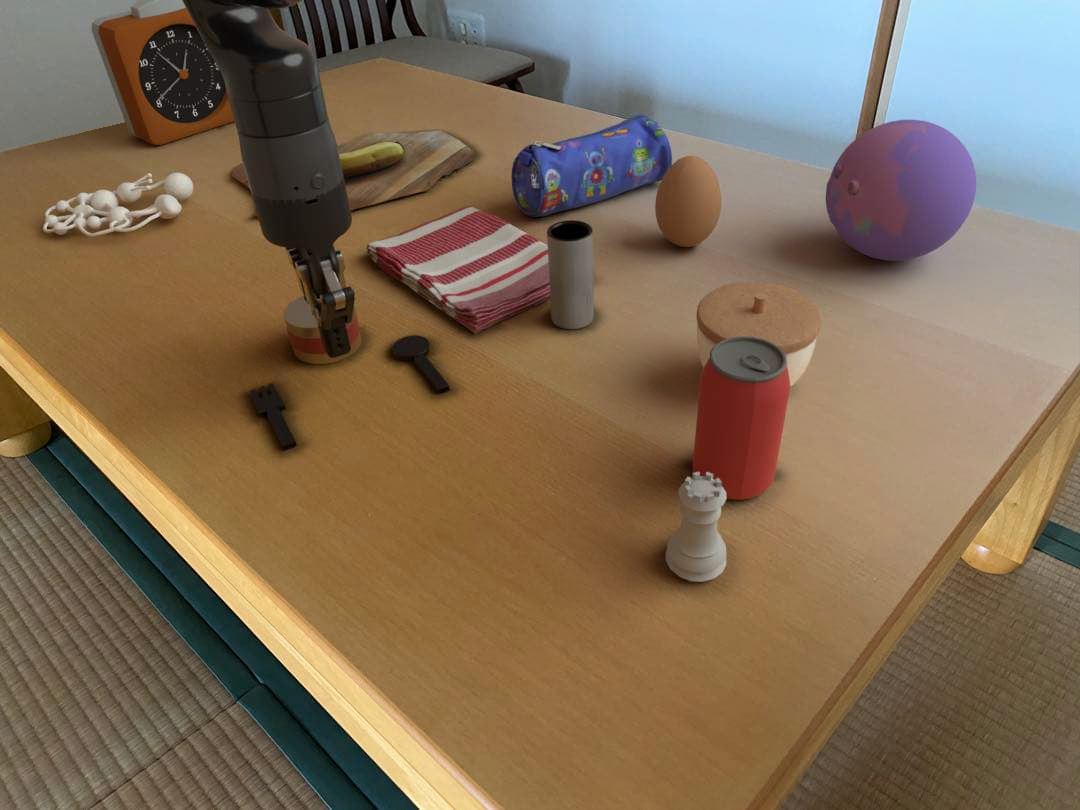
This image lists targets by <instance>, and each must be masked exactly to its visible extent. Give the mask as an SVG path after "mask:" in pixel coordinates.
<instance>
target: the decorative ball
mask: <svg viewBox="0 0 1080 810" xmlns="http://www.w3.org/2000/svg"><path fill="white" fill-rule="evenodd" d="M976 193H977V173H976V169H975V165H974V162H973V159H972V157H971V154H970V152H969V150H968V149H967V148H966V146H965V145H964V144H963V142H962V141H961V140H960V139H959V138H958V137H957V136H956V135H955V134H953V132H951V131H950V130H948V129H946V128H944V127H943V126H940V125H939V124H936V123H933V122H930V121H926V120H921V119H898V120H893V121H888V122H885V123H881V124H878V125H877V126H874V127H872V128H870V129H868V130H867V131H865V132H863V133H861V134H860V135H859V136H858V137H856V138H855V139H854V140H853V141H852V142H851V143H850V144H849V145H848V146H847V147H845V149H844V151H843V152H842V153H841V155H840V156H839V157H838V159H837V161H836V162H835V164H834V166H833V168H832V170H831V174H830V176H829V179H828V181H827V184H826V188H825V206H826V212H827V214H828V218H829V222H830V223H831V224H832V226H833V227H834V229H835V231H836V232H837V234H838V235H839V237H841V238H842V240H843V241H844V242H845V243H846V244H847V245H848V246H850V247H851V248H852V249H854V250H855V251H857V252H859V253H860V254H862V255H865V256H867V257H870V258H873V259H876V260H882V261H892V262H896V261H907V260H913V259H916V258H921V257H923V256H925V255H928V254H929V253H932V252H934V251H935V250H937V249H939V248H940V247H942V246H943V245H944V244H946V243H947V242H948V241H949V240H951V239H952V238H953V237H954V236H955V235H956V234H957V232H959V231H960V229H961V228H962V226H963V225H964V223H965V222H966V220H967V218H968V217H969V215H970V213H971V210H972V208H973V205H974V202H975V198H976Z"/></svg>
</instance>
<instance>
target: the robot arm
mask: <svg viewBox="0 0 1080 810" xmlns="http://www.w3.org/2000/svg"><path fill="white" fill-rule="evenodd" d="M182 1H183V3H184V5H185V7H186V9H187V11H188V13H189V15H190V16H191V18H192V20H193V22H194V24H195V26H196V28H197V30H198V32H199V34H200V36H201V38H202V40H203V42H204V43H205V45H206V47H207V49H208V51H209V52H210V54H211V56H212V57H213V59H214V61H215V62H216V64H217V66H218V68H219V69H220V71H221V73H222V76H223V78H224V82H225V87H226V91H227V94H228V99H229V103H230V106H231V110H232V113H233V117H234V121H233V122H234V125H235V127H236V130H237V135H238V141H239V150H240V155H241V157H240V158H241V161H242V163H243V165H244V169H245V173H246V176H247V180H248V183H249V187H250V188H249V190H250V194H251V197H252V201H253V204H254V208H255V212H257V215H258V216H257V219H258V222H259V226H260V230H261V234H262V236H263V237H264V239H265V240H266V241H267V242H268V243H270V244H272V245H274V246H277V247H281V248H284V249H285V252H286V254H287V258H288V261H289V264H290V265H291V267H292V268H293V269H294V272H295V276H296V281H297V283H298V287H299V290H300V292H301V293H302V296H304V299H305V301H307V303H308V304H310V306H311V314H312V315H313V316H314V318H315V319H316V321H317V324H318V328H319V332H320V336H321V340H322V344H323V347H324V350H325V351H326V353H327V354H328V356H329V357H330V358H335V357H338V356H341V355H344V354H347V353H349V352H350V350H351V347H350V343H349V338H348V334H347V329H346V325H345V323H346V324H347V323H350V322H352V316H353V309H354V307H355V301H356V298H355V296H356V293H355V291H354V289H353V288H352V287H351V286H347V283H346V280H345V273H344V272H345V270H346V265H345V260H344V256H343V253H342V251H341V250H340V249H337V250H336V249H335V245H334V244H335V242H336V241H337V240H338V239H339V238H340V237H341V236H343V235H345V234H346V233H347V232H348V231H349V229H350V228H351V226H352V222H353V216H352V210H351V211H350V206H349V201H348V196H347V191H346V186H345V181H344V176H343V172H342V167H341V162H340V157H339V152H338V147H337V146H338V144H337V143H338V142H337V140H336V137H335V133H334V131H333V129H332V125H331V122H330V118H329V114H328V110H327V106H326V100H325V95H324V90H323V86H322V81H321V75H320V70H319V66H318V63H317V59H316V57H315V54H314V52H313V50H312V49H311V47H310V46H309V45H308V44H307V43H306V42H304V41H302V40H300V39H299V38H297V37H295V36H294V35H291V34H289V33H287V32H286V31H285V30H283V29H282V28H281V27H279V25H278V24H277V22H276V21H275V19H274V17H273V15H272V14H271V12H270V10H281V9H286V8H290V7H292V6H295V5H297V4H299V3H300V2H302V1H303V0H182Z"/></svg>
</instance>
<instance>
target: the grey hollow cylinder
mask: <svg viewBox="0 0 1080 810" xmlns="http://www.w3.org/2000/svg"><path fill="white" fill-rule="evenodd" d="M546 239H547V245H548V263H549V283H550V298H549V300H550V317H551V321H552V323H553V324H554V325H555V326H557V327H558V328H561V329H565V330H577V329H578V330H579V329H582V328H585V327H587V326H589V325H590V324H591V323H592V322H593V321H594V317H595V316H594V315H595V306H594V305H595V304H594V301H595V299H594V298H595V297H594V295H595V293H594V291H595V289H594V230H593V226H592V225H590V224H588V223H587V222H584V221H581V220H577V219H576V220H575V219H572V220H571V219H569V220H568V219H567V220H561V221H557V222H555V223H553V224H552V225H550V226H549V227H547V231H546Z"/></svg>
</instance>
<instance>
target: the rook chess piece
mask: <svg viewBox="0 0 1080 810" xmlns="http://www.w3.org/2000/svg"><path fill="white" fill-rule="evenodd" d="M691 475H692V476H691V477H690V476H686V478H685V480H684V482H683V483H682V484H681V485H680V487H679V488H678V498H679V500H680V501H681V504H680V513H681V515H682V517H681V521H680V524H679V527H677V528H676V530H675V531H674V532H672V534H671V536H670V538H669V539H668V541H667V543H666V550H665V561H666V562H665V563H666V564H667V566H668V567H669V569H670V570H671V571H672V572H673V573H674V574H676V575H677V576H678V577H679V578H681V579H683V580H685V581H688V582H693V583H703V582H708V581H712V580H714V579H716V578H717V577H718V576H719V575H721V574H722V573H723V572H724V570H725V568H726V566H727V545H726V543H725V541H724V540H723V537H722V535H721V534H720V532H719V530H718V529H719V528H718V520H719V519H720V517H721V515H722V507H723V506H724V504H725V503H726V501H727V500H728V499H727V497H726V491H725V490H724V488H723V487H722V486H721V485H722V482H721V480H720V479H719V478H717V479H715V480H714V479H713V474H712V473H709V472H706V477H703V476H700V472H695V473H693V472H692V474H691Z"/></svg>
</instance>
